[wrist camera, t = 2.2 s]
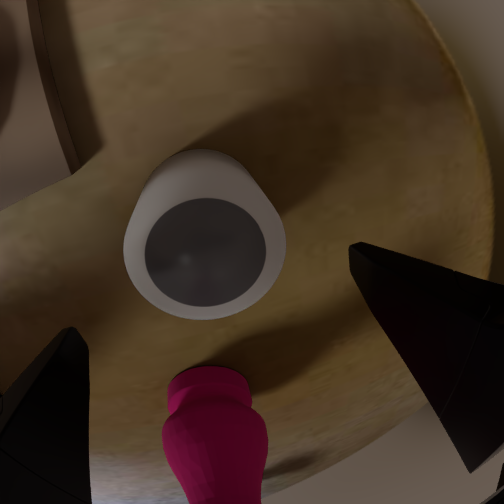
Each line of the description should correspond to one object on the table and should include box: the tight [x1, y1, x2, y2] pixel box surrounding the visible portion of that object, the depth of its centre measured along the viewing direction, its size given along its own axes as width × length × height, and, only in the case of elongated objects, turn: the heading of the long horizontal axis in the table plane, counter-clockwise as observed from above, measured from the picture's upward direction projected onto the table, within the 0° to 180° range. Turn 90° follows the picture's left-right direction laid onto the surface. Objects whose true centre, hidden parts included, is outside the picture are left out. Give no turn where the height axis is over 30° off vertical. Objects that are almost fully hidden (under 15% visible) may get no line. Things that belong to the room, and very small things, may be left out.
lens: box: [123, 149, 286, 320], centre depth 13 cm, size 6×6×5 cm
